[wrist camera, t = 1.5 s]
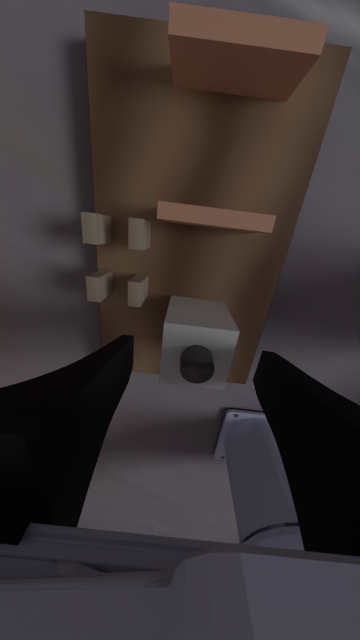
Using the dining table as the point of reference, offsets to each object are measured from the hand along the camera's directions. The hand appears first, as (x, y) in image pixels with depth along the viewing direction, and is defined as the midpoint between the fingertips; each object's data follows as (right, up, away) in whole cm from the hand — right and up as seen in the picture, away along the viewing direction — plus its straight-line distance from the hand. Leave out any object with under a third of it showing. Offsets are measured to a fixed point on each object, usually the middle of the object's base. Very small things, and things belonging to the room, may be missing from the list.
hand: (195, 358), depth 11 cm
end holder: (+1, +12, 0) cm, 12 cm away
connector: (0, +2, +5) cm, 5 cm away
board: (0, +7, +4) cm, 8 cm away
